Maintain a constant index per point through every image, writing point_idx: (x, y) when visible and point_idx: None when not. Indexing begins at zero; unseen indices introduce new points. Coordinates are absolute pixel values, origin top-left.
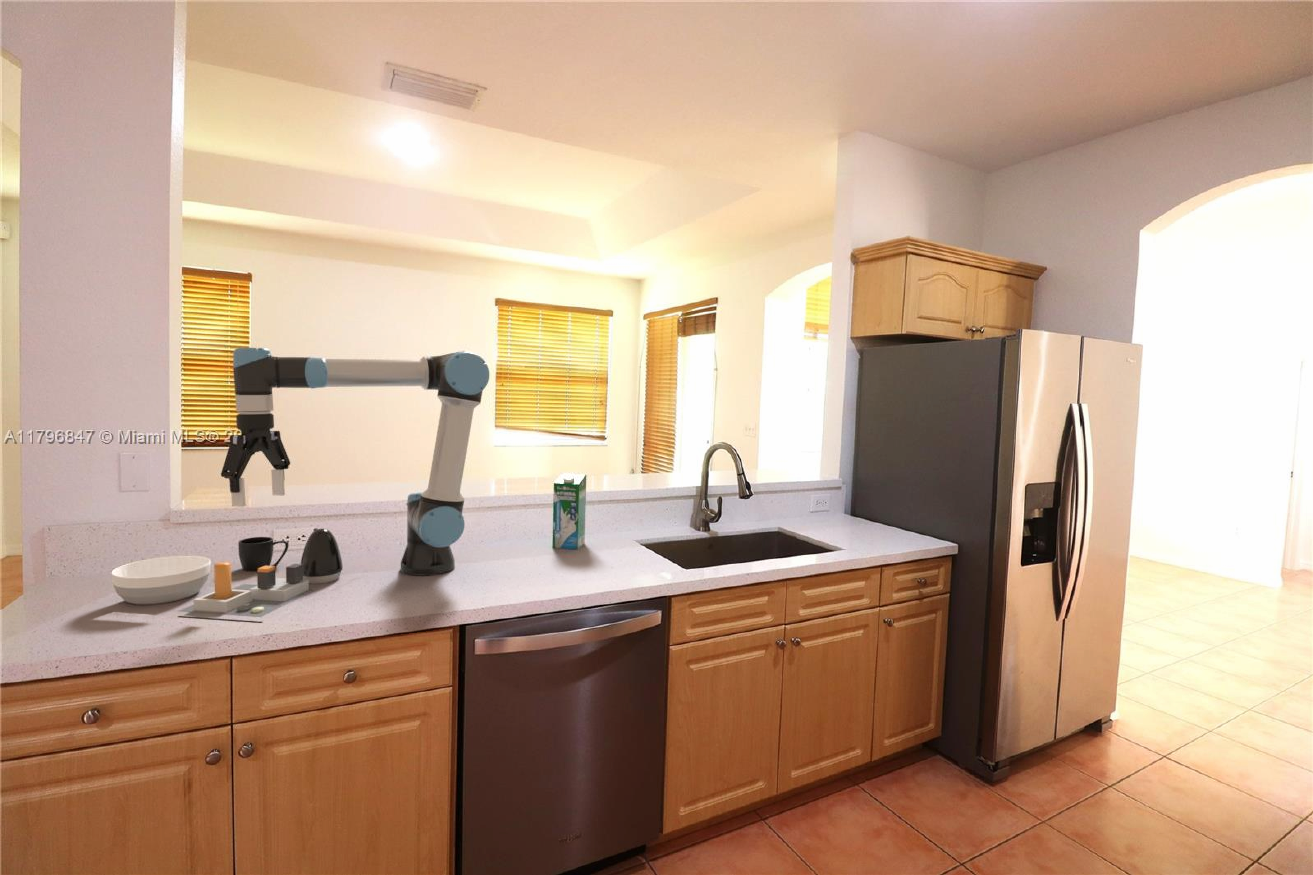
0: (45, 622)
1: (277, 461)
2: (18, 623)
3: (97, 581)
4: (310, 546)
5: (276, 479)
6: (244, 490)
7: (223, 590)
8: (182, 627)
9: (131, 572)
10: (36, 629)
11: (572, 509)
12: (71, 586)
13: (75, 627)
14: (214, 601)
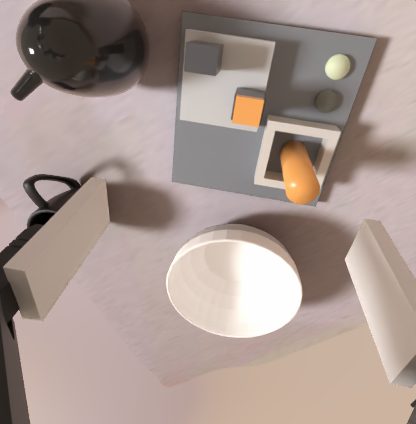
0: (312, 323)
1: (3, 345)
2: (312, 340)
3: (167, 345)
4: (105, 63)
5: (69, 254)
6: (394, 272)
7: (309, 158)
8: (365, 170)
9: (221, 321)
10: (337, 319)
11: None
12: (187, 356)
13: (337, 291)
14: (331, 156)
